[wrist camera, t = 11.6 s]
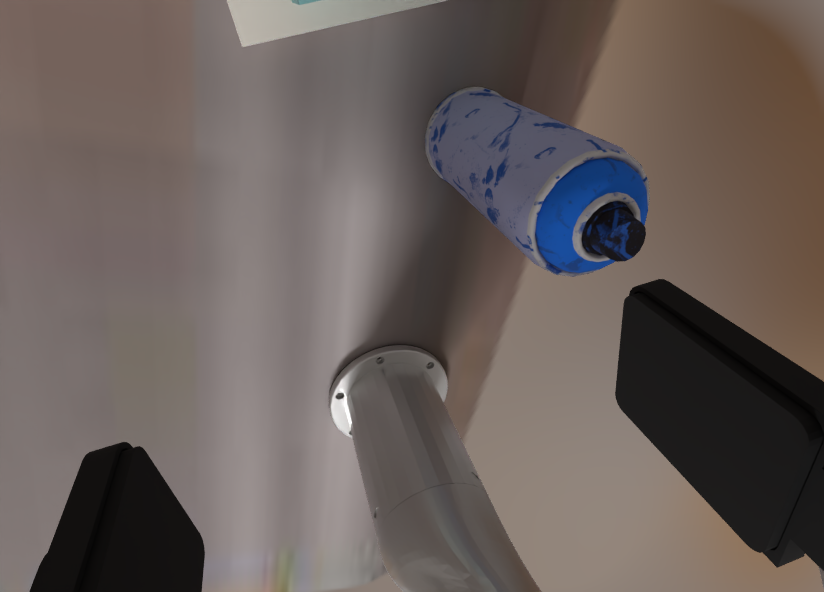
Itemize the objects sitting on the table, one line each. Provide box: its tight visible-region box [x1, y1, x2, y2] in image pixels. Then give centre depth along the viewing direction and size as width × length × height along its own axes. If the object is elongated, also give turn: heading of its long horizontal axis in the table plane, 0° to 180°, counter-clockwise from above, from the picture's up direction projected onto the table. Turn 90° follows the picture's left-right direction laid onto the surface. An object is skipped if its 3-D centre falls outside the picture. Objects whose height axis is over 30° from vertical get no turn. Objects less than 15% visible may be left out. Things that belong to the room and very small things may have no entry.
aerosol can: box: [425, 87, 650, 277], centre depth 32 cm, size 8×8×20 cm
